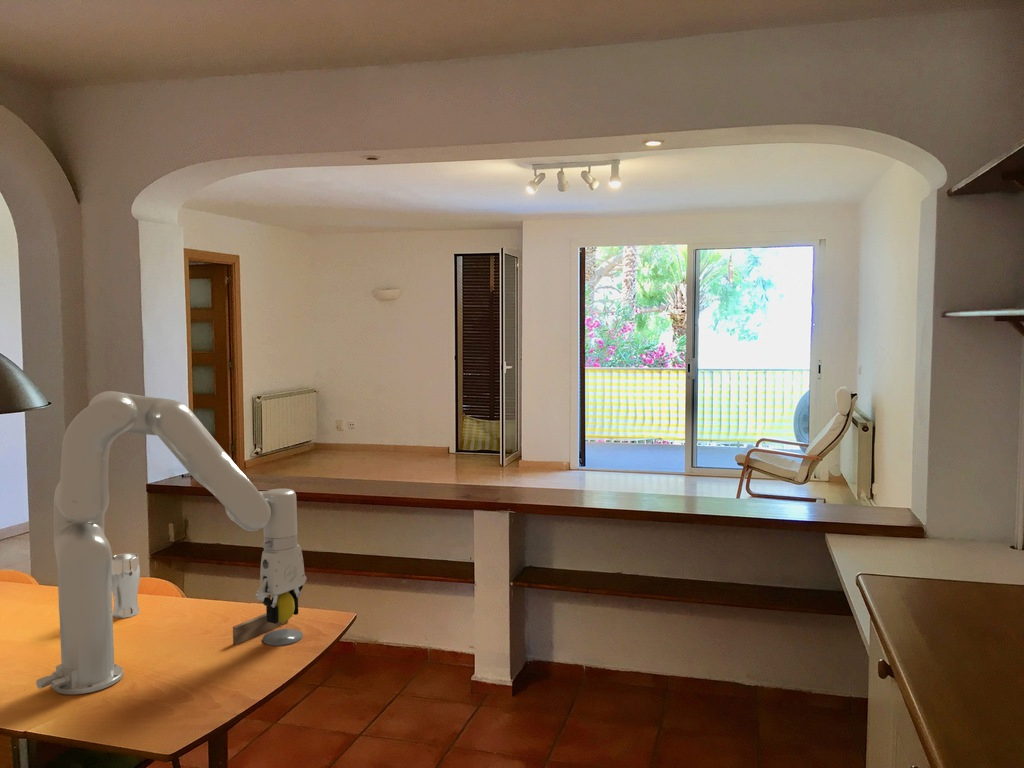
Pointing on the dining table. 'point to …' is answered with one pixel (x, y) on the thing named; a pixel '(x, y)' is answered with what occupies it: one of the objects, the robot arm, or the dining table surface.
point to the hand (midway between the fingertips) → (282, 617)
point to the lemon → (285, 607)
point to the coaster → (282, 637)
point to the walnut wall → (252, 628)
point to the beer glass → (125, 584)
